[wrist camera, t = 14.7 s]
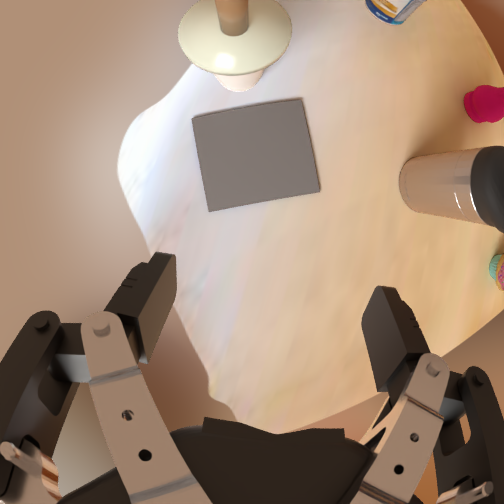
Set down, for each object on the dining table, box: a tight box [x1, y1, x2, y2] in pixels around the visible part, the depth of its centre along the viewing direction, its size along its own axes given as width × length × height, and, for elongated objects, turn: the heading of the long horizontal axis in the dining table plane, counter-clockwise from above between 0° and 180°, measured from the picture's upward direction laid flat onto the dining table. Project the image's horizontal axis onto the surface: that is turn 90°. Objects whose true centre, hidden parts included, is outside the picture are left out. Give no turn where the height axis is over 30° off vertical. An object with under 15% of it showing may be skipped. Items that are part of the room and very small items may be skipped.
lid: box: [178, 0, 292, 76], centre depth 19 cm, size 12×12×9 cm
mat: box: [192, 100, 320, 212], centre depth 39 cm, size 16×14×1 cm
